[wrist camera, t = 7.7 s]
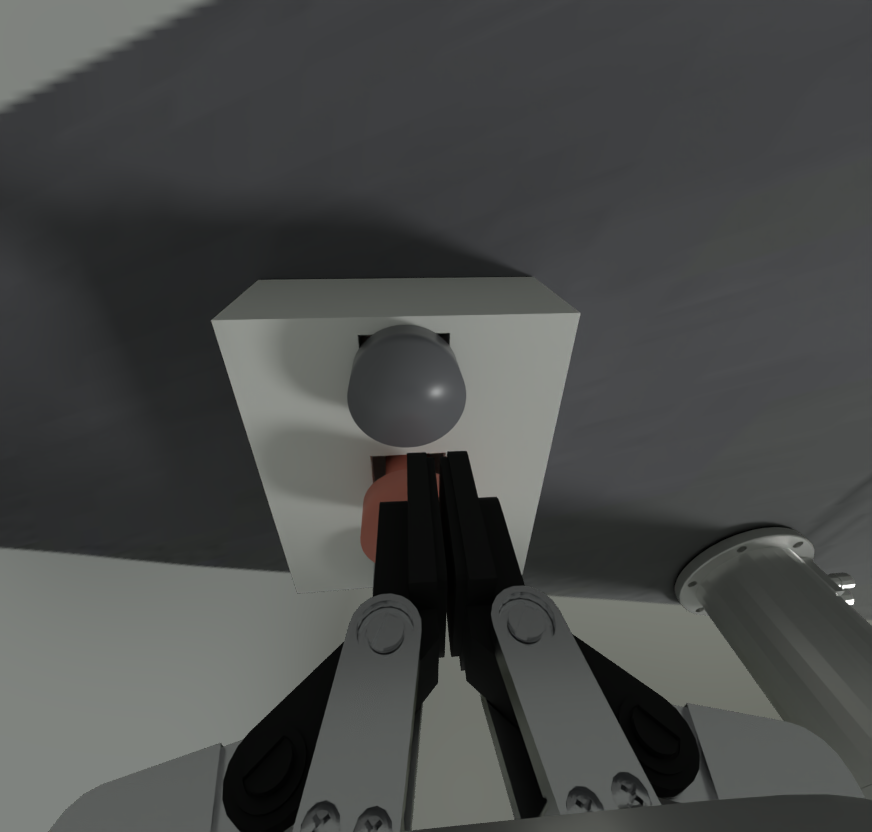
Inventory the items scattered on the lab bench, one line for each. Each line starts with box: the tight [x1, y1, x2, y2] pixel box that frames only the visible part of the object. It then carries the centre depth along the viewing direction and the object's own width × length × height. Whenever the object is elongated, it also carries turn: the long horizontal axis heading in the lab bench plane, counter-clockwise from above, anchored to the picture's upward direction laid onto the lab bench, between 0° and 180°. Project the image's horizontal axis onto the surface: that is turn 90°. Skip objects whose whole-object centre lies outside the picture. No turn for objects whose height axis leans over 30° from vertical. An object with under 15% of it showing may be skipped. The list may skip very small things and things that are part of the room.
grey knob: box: [347, 325, 466, 448], centre depth 16 cm, size 4×4×6 cm
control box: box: [211, 277, 580, 594], centre depth 22 cm, size 14×17×6 cm
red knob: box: [360, 453, 439, 563], centre depth 19 cm, size 4×4×6 cm
